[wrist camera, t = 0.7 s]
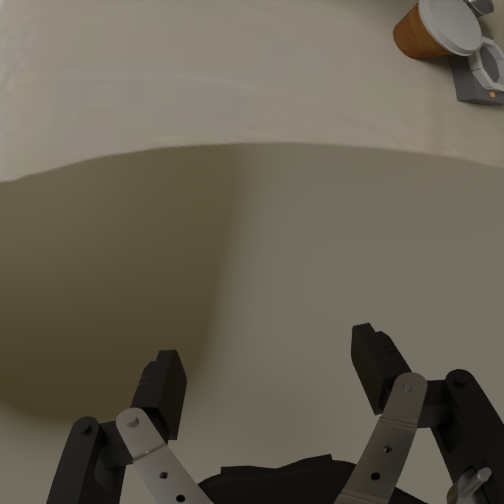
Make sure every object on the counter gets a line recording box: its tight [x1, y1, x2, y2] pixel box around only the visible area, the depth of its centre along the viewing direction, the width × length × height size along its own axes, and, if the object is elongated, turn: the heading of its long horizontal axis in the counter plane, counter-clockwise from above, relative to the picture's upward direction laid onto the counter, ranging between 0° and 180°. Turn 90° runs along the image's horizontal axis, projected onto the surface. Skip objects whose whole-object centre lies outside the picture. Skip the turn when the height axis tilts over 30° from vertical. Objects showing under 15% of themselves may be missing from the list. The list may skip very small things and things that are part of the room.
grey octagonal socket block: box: [449, 32, 504, 105], centre depth 27 cm, size 12×8×7 cm
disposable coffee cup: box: [393, 0, 482, 59], centre depth 24 cm, size 10×10×12 cm
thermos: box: [463, 0, 493, 18], centre depth 23 cm, size 5×5×9 cm
